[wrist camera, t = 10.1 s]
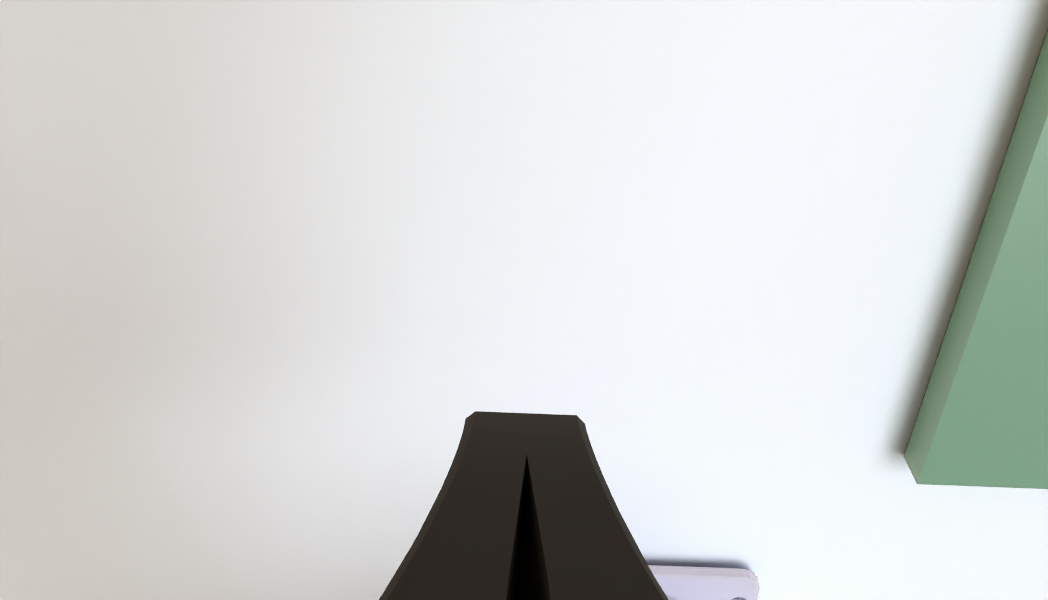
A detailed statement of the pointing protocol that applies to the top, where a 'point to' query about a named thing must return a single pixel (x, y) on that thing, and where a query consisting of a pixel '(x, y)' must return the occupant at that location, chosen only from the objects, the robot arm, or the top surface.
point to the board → (997, 332)
